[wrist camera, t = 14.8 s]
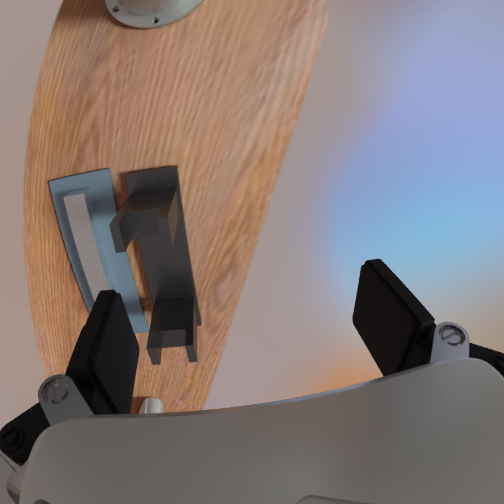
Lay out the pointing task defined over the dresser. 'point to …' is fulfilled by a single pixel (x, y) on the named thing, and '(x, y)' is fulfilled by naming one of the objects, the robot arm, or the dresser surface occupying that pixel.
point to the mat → (105, 214)
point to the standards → (161, 257)
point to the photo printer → (151, 406)
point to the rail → (89, 240)
